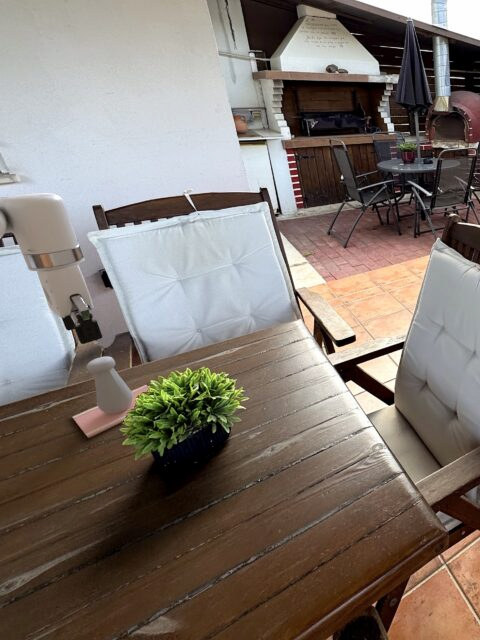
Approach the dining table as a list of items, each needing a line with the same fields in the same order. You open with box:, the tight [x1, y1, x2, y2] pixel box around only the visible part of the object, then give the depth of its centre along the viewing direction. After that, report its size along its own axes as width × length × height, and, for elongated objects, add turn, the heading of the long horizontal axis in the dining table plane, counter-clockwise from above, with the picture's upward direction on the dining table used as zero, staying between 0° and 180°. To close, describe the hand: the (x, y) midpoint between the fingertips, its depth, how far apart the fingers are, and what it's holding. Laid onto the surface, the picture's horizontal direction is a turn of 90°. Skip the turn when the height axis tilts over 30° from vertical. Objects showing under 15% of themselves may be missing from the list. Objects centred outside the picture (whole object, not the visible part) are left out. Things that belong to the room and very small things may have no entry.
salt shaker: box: [86, 356, 133, 415], centre depth 89 cm, size 6×6×13 cm
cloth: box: [72, 384, 149, 439], centre depth 91 cm, size 13×11×1 cm
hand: (84, 334), depth 84 cm, fingers open, 9 cm apart
